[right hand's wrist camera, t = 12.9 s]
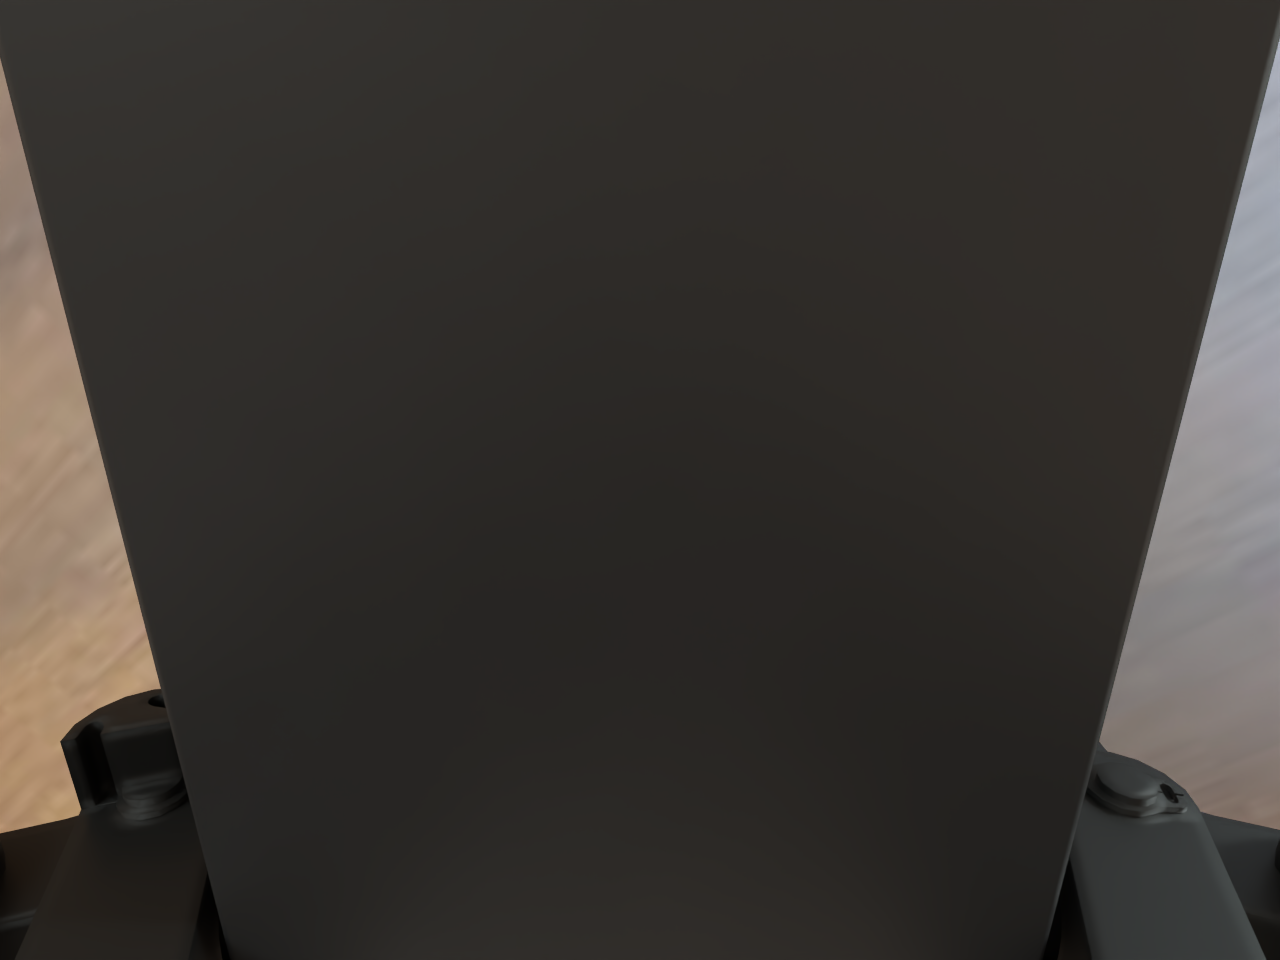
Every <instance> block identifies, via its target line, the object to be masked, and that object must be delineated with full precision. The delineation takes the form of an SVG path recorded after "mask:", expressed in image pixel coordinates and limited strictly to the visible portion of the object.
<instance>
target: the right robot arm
mask: <svg viewBox="0 0 1280 960" xmlns="http://www.w3.org/2000/svg"><path fill="white" fill-rule="evenodd" d="M60 742H61V745H62V749H63V752H64V755H65V758H66V762H67V765H68V768H69V771H70V774H71V778H72V781H73V784H74V787H75V790H76V794H77V797H78V800H79V803H80V806H81V812H80V814H79V816H75V817H72V818H68V819H64V820H60V821H55V822H51V823H46V824H41V825H37V826H32V827H28V828H23V829H19V830H14V831H10V832H5V833H0V960H230V958H229V954H228V950H227V946H226V942H225V938H224V934H223V930H222V926H221V922H220V918H219V914H218V911H217V907H216V903H215V899H214V895H213V891H212V887H211V883H210V879H209V875H208V871H207V867H206V863H205V859H204V856H203V852H202V848H201V844H200V840H199V836H198V832H197V828H196V824H195V820H194V816H193V812H192V808H191V804H190V801H189V797H188V793H187V789H186V785H185V781H184V777H183V773H182V769H181V765H180V761H179V757H178V753H177V750H176V746H175V742H174V738H173V734H172V730H171V726H170V722H169V718H168V714H167V710H166V706H165V702H164V698H163V695H162V691H161V689H155V690H150V691H147V692H143V693H139V694H135V695H131V696H127V697H124V698H122V699H120V700H117V701H115V702H113V703H110V704H108V705H106V706H104V707H101V708H99V709H97V710H96V711H94V712H93V713H91V714H90V715H88V716H87V717H85V718H84V719H82V720H81V721H79V722H78V723H76V724H75V725H74V726H73V727H72V728H71V730H70V731H69V732H68V733H67V734H66V735H65V737H64V738H63V739H62V740H61V741H60ZM1043 960H1280V830H1277V829H1273V828H1268V827H1264V826H1259V825H1254V824H1250V823H1245V822H1241V821H1236V820H1231V819H1227V818H1222V817H1218V816H1213V815H1210V814H1206V813H1203V812H1200V810H1199V808H1198V807H1197V805H1196V804H1195V803H1194V801H1193V800H1192V798H1191V797H1190V796H1189V794H1188V793H1187V792H1186V790H1185V789H1183V788H1182V787H1181V786H1179V785H1178V784H1177V783H1176V782H1174V781H1173V780H1172V779H1170V778H1169V777H1168V776H1167V775H1165V774H1164V773H1162V772H1160V771H1158V770H1156V769H1154V768H1152V767H1150V766H1148V765H1146V764H1144V763H1142V762H1140V761H1138V760H1135V759H1132V758H1128V757H1125V756H1122V755H1118V754H1115V753H1111V752H1107V751H1106V750H1105V748H1104V747H1103V746H1102V745H1101V744H1100V742H1098V746H1097V750H1096V754H1095V758H1094V762H1093V766H1092V769H1091V773H1090V777H1089V781H1088V785H1087V789H1086V793H1085V797H1084V801H1083V805H1082V808H1081V812H1080V816H1079V820H1078V824H1077V828H1076V832H1075V836H1074V840H1073V843H1072V847H1071V851H1070V855H1069V859H1068V863H1067V867H1066V871H1065V875H1064V878H1063V882H1062V886H1061V890H1060V894H1059V898H1058V902H1057V906H1056V910H1055V913H1054V917H1053V921H1052V925H1051V929H1050V933H1049V937H1048V941H1047V945H1046V948H1045V952H1044V956H1043Z"/></svg>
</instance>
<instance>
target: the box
mask: <svg viewBox="0 0 1280 960" xmlns="http://www.w3.org/2000/svg"><path fill="white" fill-rule="evenodd" d="M1279 38H1280V0H0V58H1V62H2V66H3V70H4V74H5V78H6V82H7V86H8V90H9V94H10V98H11V102H12V106H13V109H14V113H15V117H16V121H17V125H18V129H19V133H20V137H21V141H22V145H23V149H24V153H25V157H26V160H27V164H28V168H29V172H30V176H31V180H32V184H33V188H34V192H35V196H36V200H37V204H38V208H39V212H40V215H41V219H42V223H43V227H44V231H45V235H46V239H47V243H48V247H49V251H50V255H51V259H52V263H53V267H54V270H55V274H56V278H57V282H58V286H59V290H60V294H61V298H62V302H63V306H64V310H65V314H66V318H67V322H68V325H69V329H70V333H71V337H72V341H73V345H74V349H75V353H76V357H77V361H78V365H79V369H80V373H81V376H82V380H83V384H84V388H85V392H86V396H87V400H88V404H89V408H90V412H91V416H92V420H93V424H94V428H95V431H96V435H97V439H98V443H99V447H100V451H101V455H102V459H103V463H104V467H105V471H106V475H107V479H108V482H109V486H110V490H111V494H112V498H113V502H114V506H115V510H116V514H117V518H118V522H119V526H120V530H121V534H122V537H123V541H124V545H125V549H126V553H127V557H128V561H129V565H130V569H131V573H132V577H133V581H134V585H135V589H136V592H137V596H138V600H139V604H140V608H141V612H142V616H143V620H144V624H145V628H146V632H147V636H148V640H149V643H150V647H151V651H152V655H153V659H154V663H155V667H156V671H157V675H158V679H159V683H160V687H161V691H162V695H163V698H164V702H165V706H166V710H167V714H168V718H169V722H170V726H171V730H172V734H173V738H174V742H175V746H176V750H177V753H178V757H179V761H180V765H181V769H182V773H183V777H184V781H185V785H186V789H187V793H188V797H189V801H190V804H191V808H192V812H193V816H194V820H195V824H196V828H197V832H198V836H199V840H200V844H201V848H202V852H203V856H204V859H205V863H206V867H207V871H208V875H209V879H210V883H211V887H212V891H213V895H214V899H215V903H216V907H217V911H218V914H219V918H220V922H221V926H222V930H223V934H224V938H225V942H226V946H227V950H228V954H229V958H230V960H1043V956H1044V952H1045V948H1046V945H1047V941H1048V937H1049V933H1050V929H1051V925H1052V921H1053V917H1054V913H1055V910H1056V906H1057V902H1058V898H1059V894H1060V890H1061V886H1062V882H1063V878H1064V875H1065V871H1066V867H1067V863H1068V859H1069V855H1070V851H1071V847H1072V843H1073V840H1074V836H1075V832H1076V828H1077V824H1078V820H1079V816H1080V812H1081V808H1082V805H1083V801H1084V797H1085V793H1086V789H1087V785H1088V781H1089V777H1090V773H1091V769H1092V766H1093V762H1094V758H1095V754H1096V750H1097V746H1098V742H1099V738H1100V734H1101V731H1102V727H1103V723H1104V719H1105V715H1106V711H1107V707H1108V703H1109V699H1110V696H1111V692H1112V688H1113V684H1114V680H1115V676H1116V672H1117V668H1118V664H1119V661H1120V657H1121V653H1122V649H1123V645H1124V641H1125V637H1126V633H1127V629H1128V626H1129V622H1130V618H1131V614H1132V610H1133V606H1134V602H1135V598H1136V594H1137V591H1138V587H1139V583H1140V579H1141V575H1142V571H1143V567H1144V563H1145V559H1146V556H1147V552H1148V548H1149V544H1150V540H1151V536H1152V532H1153V528H1154V524H1155V521H1156V517H1157V513H1158V509H1159V505H1160V501H1161V497H1162V493H1163V489H1164V486H1165V482H1166V478H1167V474H1168V470H1169V466H1170V462H1171V458H1172V454H1173V451H1174V447H1175V443H1176V439H1177V435H1178V431H1179V427H1180V423H1181V419H1182V416H1183V412H1184V408H1185V404H1186V400H1187V396H1188V392H1189V388H1190V384H1191V381H1192V377H1193V373H1194V369H1195V365H1196V361H1197V357H1198V353H1199V349H1200V346H1201V342H1202V338H1203V334H1204V330H1205V326H1206V322H1207V318H1208V314H1209V311H1210V307H1211V303H1212V299H1213V295H1214V291H1215V287H1216V283H1217V279H1218V276H1219V272H1220V268H1221V264H1222V260H1223V256H1224V252H1225V248H1226V244H1227V241H1228V237H1229V233H1230V229H1231V225H1232V221H1233V217H1234V213H1235V209H1236V206H1237V202H1238V198H1239V194H1240V190H1241V186H1242V182H1243V178H1244V174H1245V171H1246V167H1247V163H1248V159H1249V155H1250V151H1251V147H1252V143H1253V139H1254V136H1255V132H1256V128H1257V124H1258V120H1259V116H1260V112H1261V108H1262V104H1263V101H1264V97H1265V93H1266V89H1267V85H1268V81H1269V77H1270V73H1271V69H1272V66H1273V62H1274V58H1275V54H1276V50H1277V46H1278V42H1279Z"/></svg>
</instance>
